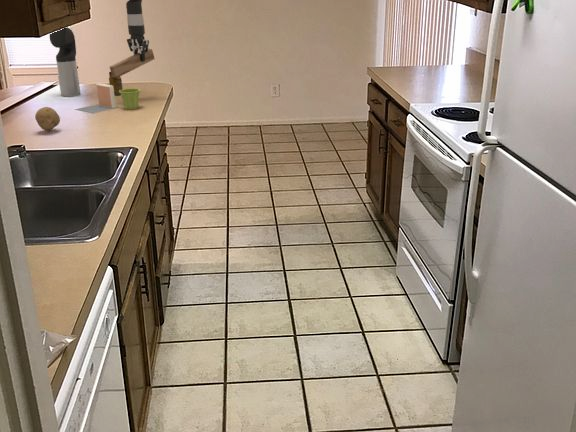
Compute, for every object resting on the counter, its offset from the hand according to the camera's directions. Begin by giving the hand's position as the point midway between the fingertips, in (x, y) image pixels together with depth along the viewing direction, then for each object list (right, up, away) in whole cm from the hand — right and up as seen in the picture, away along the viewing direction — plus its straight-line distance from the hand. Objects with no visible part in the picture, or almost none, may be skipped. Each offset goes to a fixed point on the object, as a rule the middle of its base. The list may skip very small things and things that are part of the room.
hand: (140, 61), depth 296 cm
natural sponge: (-25, -41, -46) cm, 66 cm away
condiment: (-15, -14, +16) cm, 26 cm away
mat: (-17, -25, -12) cm, 33 cm away
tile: (-13, -24, -9) cm, 28 cm away
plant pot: (-1, -25, -12) cm, 28 cm away
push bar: (-2, -4, -2) cm, 5 cm away
